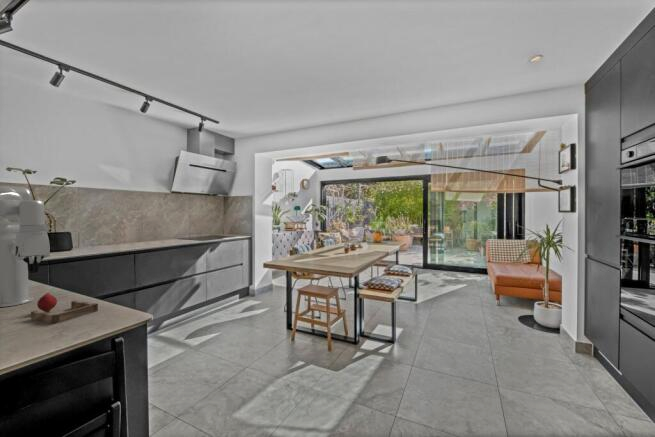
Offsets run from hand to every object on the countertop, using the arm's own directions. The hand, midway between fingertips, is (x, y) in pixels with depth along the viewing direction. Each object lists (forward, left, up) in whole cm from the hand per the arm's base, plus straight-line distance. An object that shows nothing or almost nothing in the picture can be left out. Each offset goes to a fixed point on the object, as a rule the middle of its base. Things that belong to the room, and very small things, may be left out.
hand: (33, 272), depth 122 cm
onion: (+9, 0, -16) cm, 18 cm away
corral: (+20, 0, -16) cm, 26 cm away
